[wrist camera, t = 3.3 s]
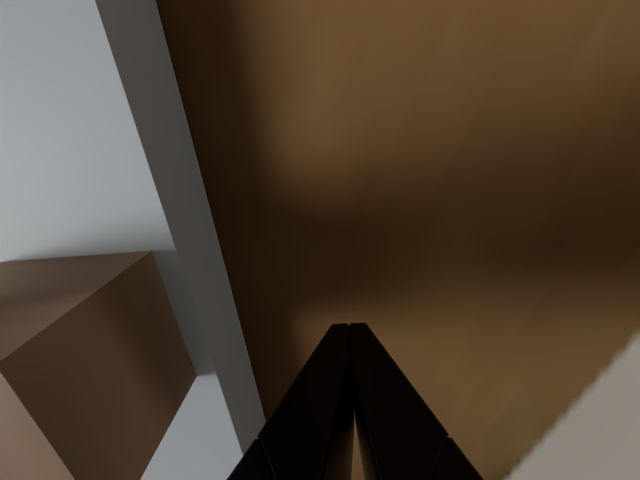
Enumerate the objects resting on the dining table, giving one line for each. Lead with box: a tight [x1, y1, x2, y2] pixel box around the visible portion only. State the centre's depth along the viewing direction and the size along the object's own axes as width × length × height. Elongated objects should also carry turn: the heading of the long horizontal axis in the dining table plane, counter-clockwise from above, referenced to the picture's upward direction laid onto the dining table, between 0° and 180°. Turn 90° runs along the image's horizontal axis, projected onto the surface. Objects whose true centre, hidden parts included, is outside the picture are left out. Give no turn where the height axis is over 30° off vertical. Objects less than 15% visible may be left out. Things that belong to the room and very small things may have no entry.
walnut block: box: [0, 251, 197, 480], centre depth 7 cm, size 5×5×4 cm
